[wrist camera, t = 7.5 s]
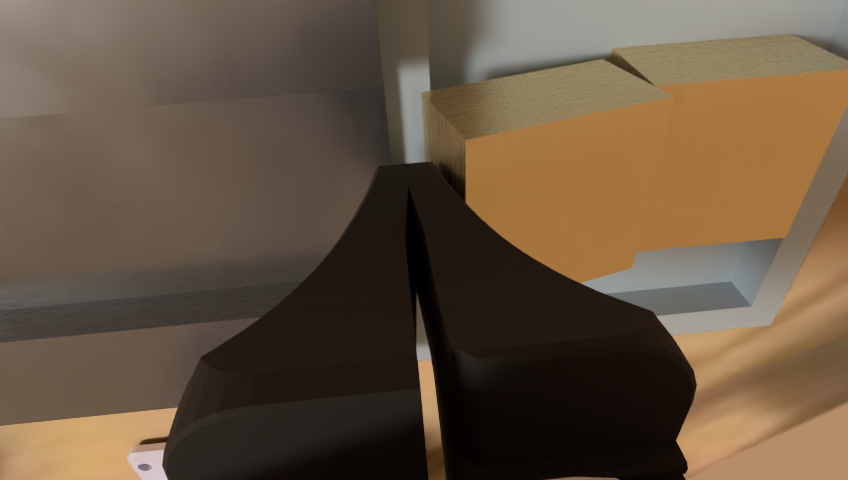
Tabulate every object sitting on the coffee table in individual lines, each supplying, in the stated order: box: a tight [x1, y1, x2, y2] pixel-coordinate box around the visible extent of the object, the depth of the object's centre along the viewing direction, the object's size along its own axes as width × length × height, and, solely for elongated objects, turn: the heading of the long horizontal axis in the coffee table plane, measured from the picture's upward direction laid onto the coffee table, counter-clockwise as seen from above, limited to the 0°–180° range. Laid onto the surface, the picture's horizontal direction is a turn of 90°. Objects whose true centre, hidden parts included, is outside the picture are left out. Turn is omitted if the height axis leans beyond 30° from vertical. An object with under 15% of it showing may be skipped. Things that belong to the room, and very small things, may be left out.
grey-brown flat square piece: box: [0, 0, 392, 426], centre depth 13 cm, size 12×12×3 cm
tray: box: [376, 0, 848, 361], centre depth 14 cm, size 14×12×2 cm
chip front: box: [421, 59, 675, 283], centre depth 12 cm, size 4×4×2 cm
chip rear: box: [609, 34, 848, 252], centre depth 13 cm, size 4×4×2 cm
